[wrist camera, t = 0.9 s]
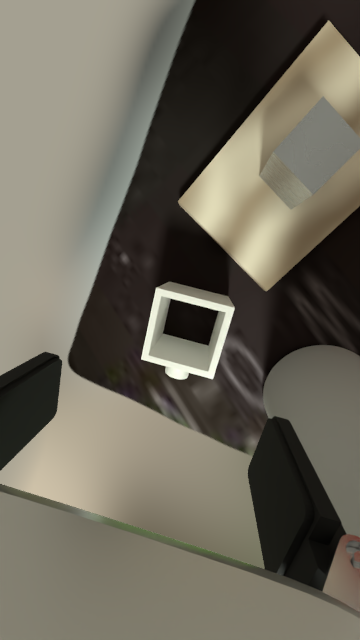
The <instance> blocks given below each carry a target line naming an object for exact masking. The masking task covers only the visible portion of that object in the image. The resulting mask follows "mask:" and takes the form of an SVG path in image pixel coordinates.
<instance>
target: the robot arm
mask: <svg viewBox="0 0 360 640" xmlns="http://www.w3.org/2000/svg"><path fill="white" fill-rule="evenodd" d="M61 368H62V360H60V359H59V356H58V355H55V354H51V353H48V352H44V353H42V354H40V355H38V356H36V357H34V358H32V359H30V360H29V361H27V362H25V363H23V364H21V365H19V366H17V367H16V368H14V369H12V370H10V371H8V372H6V373H5V374H3V375H1V376H0V470H2V468H3V467H4V466H5V465H7V463H8V462H9V461H11V460H12V459H13V458H14V457H15V456H16V454H17V453H18V452H19V451H21V450H22V449H23V447H25V446H26V445H27V444H28V443H29V442H30V441H31V440H32V439H33V438H34V437H35V436H36V435H37V434H38V433H39V432H40V431H41V430H42V429H43V428H44V427H45V426H46V425H47V424H48V423H49V422H50V421H51V420H52V419H53V418H54V416H55V414H56V412H57V405H58V396H59V385H60V377H61ZM248 478H249V484H250V489H251V495H252V501H253V505H254V511H255V517H256V522H257V528H258V533H259V538H260V544H261V549H262V555H263V560H264V566H265V569H262V568H259V567H256V566H253V565H251V564H248V563H245V562H242V561H239V560H236V559H233V558H230V557H227V556H224V555H221V554H218V553H215V552H212V551H208V550H206V549H203V548H200V547H196V546H194V545H190V544H187V543H184V542H181V541H178V540H175V539H172V538H169V537H166V536H163V535H160V534H157V533H154V532H151V531H147V530H144V529H141V528H138V527H135V526H132V525H129V524H125V523H122V522H119V521H116V520H113V519H110V518H107V517H104V516H101V515H98V514H94V513H91V512H88V511H85V510H82V509H79V508H76V507H72V506H69V505H66V504H63V503H60V502H56V501H53V500H50V499H47V498H44V497H40V496H37V495H34V494H31V493H27V492H24V491H21V490H18V489H15V488H12V487H8V486H5V485H2V484H0V640H360V537H358V536H355V535H351V534H346V532H345V530H344V528H343V526H342V524H341V523H342V522H341V520H340V518H339V516H338V514H337V512H336V510H335V508H334V506H333V504H332V502H331V501H330V499H329V497H328V495H327V493H326V491H325V489H324V487H323V485H322V483H321V481H320V479H319V477H318V475H317V473H316V471H315V469H314V467H313V465H312V463H311V461H310V460H309V458H308V456H307V454H306V452H305V450H304V448H303V446H302V444H301V442H300V440H299V438H298V436H297V434H296V432H295V430H294V428H293V426H292V424H291V422H290V421H289V420H288V419H284V418H281V417H277V416H274V417H273V418H272V419H271V418H269V419H268V420H267V422H266V425H265V427H264V430H263V432H262V435H261V437H260V440H259V442H258V445H257V448H256V450H255V453H254V455H253V458H252V460H251V463H250V465H249V469H248Z"/></svg>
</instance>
